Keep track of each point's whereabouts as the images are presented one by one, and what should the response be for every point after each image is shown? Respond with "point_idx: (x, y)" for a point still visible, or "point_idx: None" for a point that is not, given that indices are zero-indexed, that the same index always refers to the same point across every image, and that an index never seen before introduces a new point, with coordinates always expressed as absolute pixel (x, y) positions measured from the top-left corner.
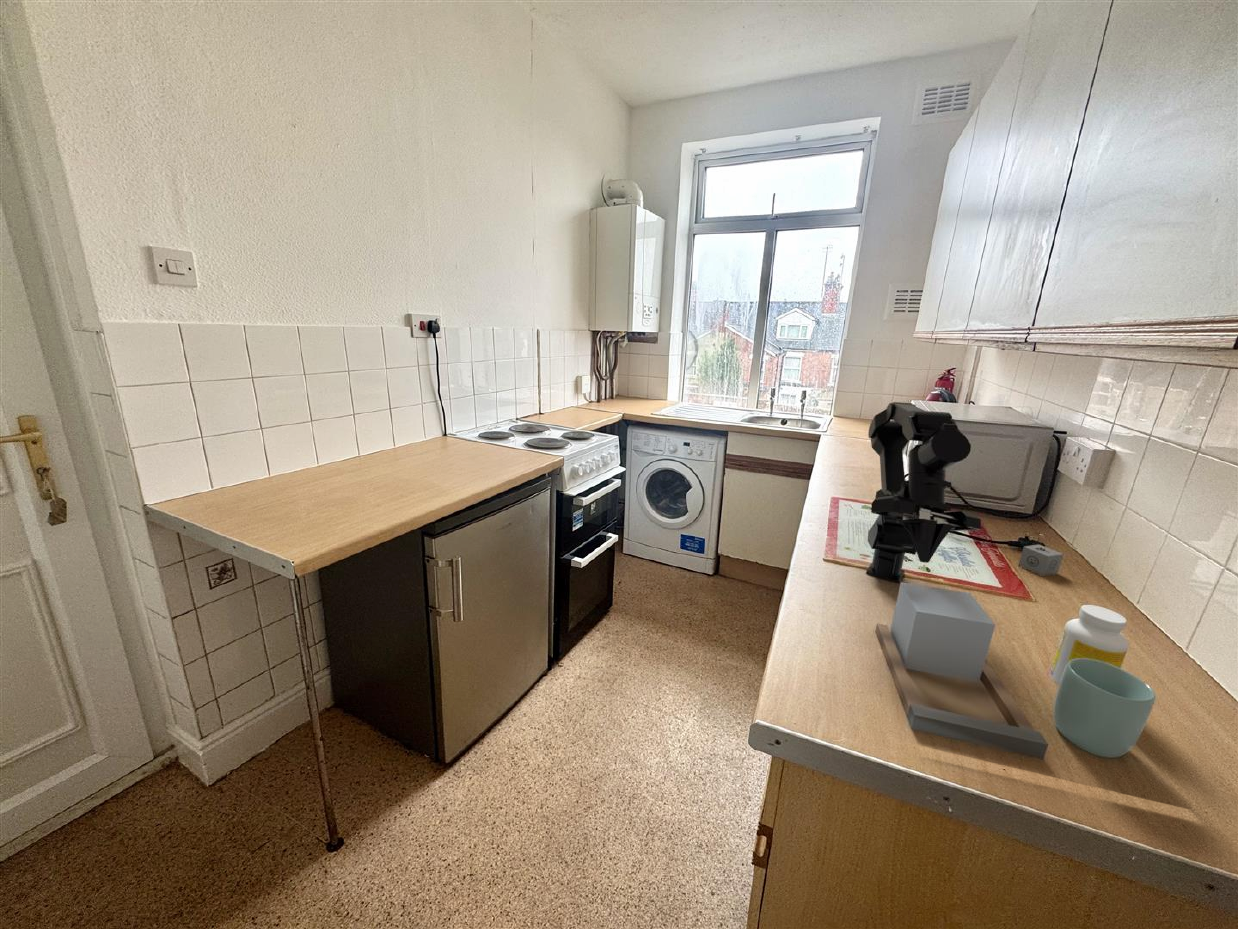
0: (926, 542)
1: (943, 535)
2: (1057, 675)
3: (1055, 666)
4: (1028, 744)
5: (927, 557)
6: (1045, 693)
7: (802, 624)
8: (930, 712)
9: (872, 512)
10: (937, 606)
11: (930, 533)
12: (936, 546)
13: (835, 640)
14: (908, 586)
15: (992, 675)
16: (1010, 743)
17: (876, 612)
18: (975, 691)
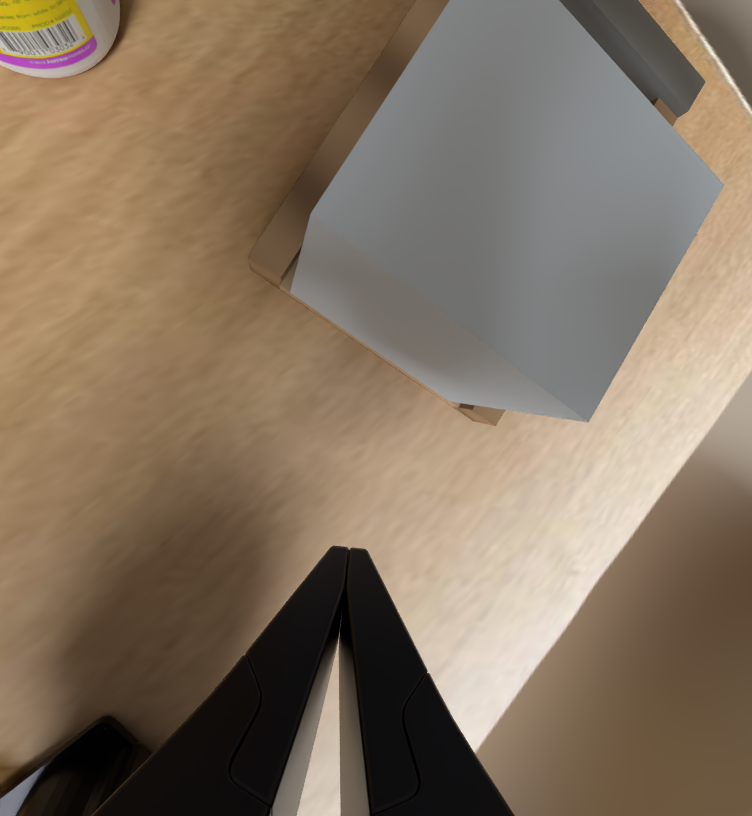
0: (423, 677)
1: (175, 789)
2: (103, 8)
3: (80, 7)
4: None
5: (357, 566)
6: (192, 44)
7: (614, 504)
8: (671, 68)
9: None
10: (613, 178)
11: (449, 794)
12: (281, 641)
13: (583, 425)
14: (586, 376)
15: (368, 102)
16: None
17: (371, 529)
18: None
